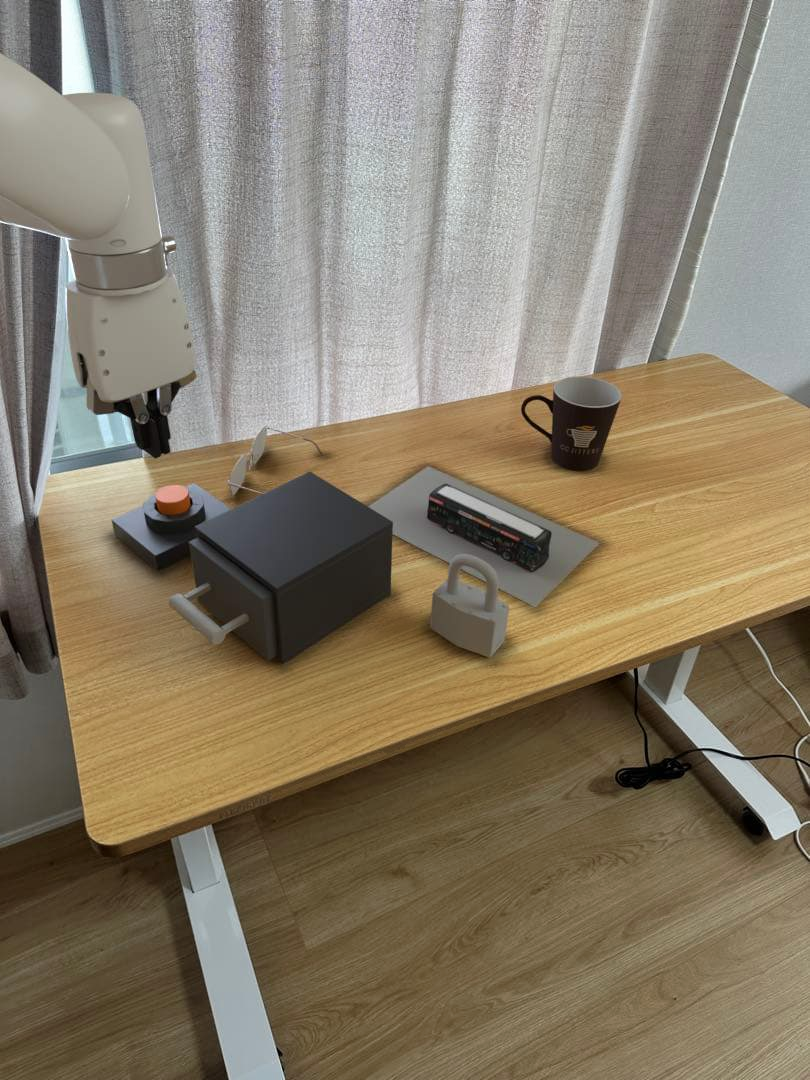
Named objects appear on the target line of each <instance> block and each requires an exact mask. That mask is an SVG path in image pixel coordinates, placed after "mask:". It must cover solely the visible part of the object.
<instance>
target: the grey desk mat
mask: <svg viewBox="0 0 810 1080" xmlns="http://www.w3.org/2000/svg"><path fill="white" fill-rule="evenodd" d="M367 506H368V507H369V508H371V509H373V510H374V511H376V512H378V513H379V514H381V515H382V516H384V517H386V518H387V519H389V520H391V521H392V522H393V528H392V529H393V533H392V536H395V537H396V538H399V539H401V540H403V541H405V542H406V543H409V544H411V545H413V546H414V547H417V548H418V549H421V550H423V551H425V552H426V553H428V554H430V555H432V556H434V557H436V558H438V559H440V560H441V561H444V562H446V563H448V564H450V562H451V560H452V559H453V558H454V557H455V556H457V555H460V554H468V555H472V556H475V557H478V558H480V559H482V560H483V561H485V562H486V563H488V564H489V565H490V566H491V567H492V568H493V569H494V570H495V572H496V574H497V576H498V580H499V589H498V590H501V591H502V592H504V593H506V594H508V595H510V596H512V597H514V598H516V599H518V600H520V601H522V602H524V603H526V604H527V605H530V606H531V607H533V608H536V607H537V606H538V605H539V604H540V603H541V602H542V601H543V600H544V599H545V598H546V597H547V596H548V595H549V594H550V593H551V592H552V591H553V590H554V589H555V588H556V587H557V586H558V585H559V584H560V583H561V582H562V581H563V580H564V579H565V578H566V577H567V576H568V575H569V574H570V573H571V572H572V571H573V570H574V569H575V568H576V567H577V566H578V565H579V564H580V563H581V562H582V561H583V560H584V559H585V558H586V557H587V556H588V555H590V554H591V552H592V551H593V550H594V549H595V548H596V547H597V546H598V545H599V544H600V542H598V541H596V540H594V539H591V538H589V537H588V536H585V535H582V534H580V533H578V532H576V531H573V530H571V529H570V528H567V527H565V526H562V525H561V524H559V523H556V522H554V521H551V520H549V519H547V518H545V517H543V516H540V515H538V514H536V513H534V512H531V511H529V510H527V509H524V508H522V507H520V506H518V505H516V504H514V503H511V502H509V501H507V500H504V499H503V498H500V497H497V496H495V495H494V494H491V493H489V492H487V491H484V490H483V489H480V488H478V487H475V486H473V485H471V484H469V483H467V482H464V481H462V480H460V479H457V478H456V477H453V476H451V475H449V474H447V473H445V472H442V471H440V470H438V469H436V468H433V467H431V466H426V467H424V468H423V469H422V470H420V471H418V472H417V473H416V474H415V475H412V477H409V478H408V479H407V480H405V481H404V482H402V483H401V484H399V485H398V486H396V487H395V488H393V489H392V490H391V491H389V492H387V493H385V494H384V495H383V496H382V497H380V498H378V499H377V500H375V501H374V502H372V503H371V504H370V505H367ZM460 571H463V572H465V573H467V574H469V575H470V576H473V577H475V578H477V579H479V580H481V581H482V582H485V583H486V579H485V577H484V576H483V575H482V574H481V573H480V572H479V571H477V570H476V569H474V568H471V567H469V566H462V567H461V569H460Z"/></svg>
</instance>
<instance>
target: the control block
mask: <svg viewBox="0 0 810 1080" xmlns="http://www.w3.org/2000/svg"><path fill="white" fill-rule="evenodd" d="M184 487H185V488H187V490H188V492H189V498H190V508H189V509H188V510H187V511H186V512H183V513H181V514H176V515H165V514H162V513H160V512H159V511H158V508H157V503H156V498H155V495H156V492H155V493H153V494H151V495H150V496H149V497H148V498H147V499H146V500H145V501H144V502H143V505H141V506H138V507H137V508H135V509H132V510H130V511H128V512H125V513H123V514H121V515H119V516H117V517H114V518H112V519H111V525H112V529H113V532H114V533H113V534H114V536H115V537H117V538H118V539H119V540H120V541H121V542H123V544H125V545H126V546H127V547H129V548H130V549H131V550H132V551H133V552H134V553H136V554H137V555H138V556H139V557H141V559H143V560H144V561H145V562H147V563H148V564H149V566H151V567H153V569H155V571H157V572H160V571H162V570H165V569H166V568H168V567H170V566H172V565H174V564H177V563H178V562H180V561H182V560H184V559H186V558H188V557H191V554H190V548H189V542H190V541H192V540H194V539H196V533H195V526H197V525H199V524H201V523H203V522H205V521H207V520H210V519H212V518H214V517H216V516H218V515H220V514H222V513H224V512H226V511H228V510H230V509H232V508H230V507H229V506H228V505H227V504H225V503H224V502H223V501H221V500H219V499H217V498H216V497H215V496H213V494H210V493H209V492H208V491H206V490H205V489H204V488H203V487H201V486H200V485H198V484H197V483H195V482H193V483H191V484H189V485H187V486H184Z"/></svg>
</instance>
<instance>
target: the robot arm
mask: <svg viewBox="0 0 810 1080" xmlns="http://www.w3.org/2000/svg"><path fill="white" fill-rule="evenodd" d="M144 122H145V121H144V118H143V114H142V112H141V111H140V109H139V107H138V105H137V104H136V103H135V102H134V101H133V100H131V99H130V98H128V97H125V96H122V95H119V94H116V93H115V94H114V93H108V92H76V93H67V94H60V93H59V92H58V91H56V89H54V88H53V87H51V86H50V85H49V84H47V83H46V82H45V81H43V80H42V79H41V78H40V77H38V76H37V75H35V74H34V73H33V72H31V71H30V70H28V69H26V68H25V67H23V66H22V65H20V64H19V63H17V62H16V61H14V60H12V59H11V58H9V57H7V56H6V55H4V54H3V53H1V52H0V223H2V224H5V225H10V226H13V227H19V228H24V229H28V230H31V231H36V232H40V233H44V234H48V235H51V236H55V237H58V238H62V239H64V240H65V243H66V248H67V252H68V256H69V261H70V265H71V266H70V267H71V270H72V274H73V279H74V280H72V281H69V282H67V283H66V284H65V315H66V327H67V329H66V330H67V337H68V342H69V350H70V355H71V361H72V366H73V371H74V375H75V378H76V381H77V384H78V385H79V386H80V387H81V388H82V389H86V408H87V409H88V411H90V412H91V413H93V414H94V415H96V416H100V415H101V416H102V415H111V414H115V413H119V414H121V415H123V416H124V417H125V416H126V417H127V418H129V420H130V425H131V430H132V435H133V439H134V440H133V441H134V443H135V445H136V447H137V448H138V449H140V450H141V451H144V452H146V453H147V454H148V455H150V456H151V457H152V458H154V459H158V458H160V457H161V456H162V455H168V454H170V453H171V446H170V440H171V438H172V436H171V430H170V424H169V419H168V415H170V414H171V412H172V404H173V401H174V400H175V398H176V397H177V395H178V393H179V391H180V389H183V388H185V387H186V386H188V385H189V384H191V383H192V382H194V381H195V380H196V378H197V372H196V370H195V369H196V366H197V360H196V359H197V357H196V348H195V342H194V337H193V332H192V326H191V322H190V318H189V315H188V310H187V308H186V303H185V301H184V297H183V294H182V291H181V289H180V286H179V284H178V281H177V278H176V276H175V274H174V271H173V270H172V269H171V268H168V266H169V263H168V257H167V256H169V255H170V254H171V253H175V252H176V251H177V243H176V240H175V239H174V237H173V236H171V235H169V236H164V235H162V230H161V223H160V216H159V210H158V204H157V197H156V192H155V185H154V179H153V172H152V165H151V159H150V152H149V147H148V139H147V133H146V127H145V123H144ZM142 394H144V397H143V395H142Z"/></svg>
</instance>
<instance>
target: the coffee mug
mask: <svg viewBox="0 0 810 1080" xmlns="http://www.w3.org/2000/svg"><path fill="white" fill-rule="evenodd" d="M552 388H553V389H552V391H553V392H552V395H553V396H552V399H550V398H547V397H546V396H544V395H541V394H540V395H539V394H535V395H530V396H528V397H527V398H525V399H524V400H523V401H522V404H521V407H520V413H521V415H522V417H523V418H524V420H525V421H526V422H527V423H528V425H530V426H531V427H532V428H533V429H535V430H536V431H538V432H539V433H540V434H542V435H543V436H544V437H546V438H547V439H548V440H549V442H550V443H551V444H550V445H551V447H550V457H551V461H552V462H553V463H554V464H555V465H556V466H558V467H560V468H562V469H564V470H568V471H572V472H588V471H591V470H593V469H595V468H596V467H598V465H599V463H600V460H601V457H602V455H603V452H604V449H605V446H606V444H607V440H608V438H609V435H610V432H611V429H612V426H613V424H614V422H615V421H614V420H615V418H616V415H617V413H618V409H619V406H620V403H621V401H622V398H623V394H622V392H621V390H620V389H619V388H618V387H617V386H616V385H614V384H613V383H611V382H609V381H607V380H604V379H601V378H597V377H593V376H585V375H584V376H583V375H575V376H567V377H564V378H563V377H562V378H561V379H559V380H557V381H556V382H555V383H554V384H553V387H552ZM533 401H541V402H543V403H545V404H546V405H547V407H548V410H549V411H550V413H551V415H552V417H551V419H552V420H551V433H550V432H548V431H547V430H545V429H544V428H542V427H541V426H540V425H539V424H537V423H536V422H534V420H532V419H531V418H530V417H529V416H528V414H527V413H526V407H527V406H528V404H529V403H532V402H533Z"/></svg>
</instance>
